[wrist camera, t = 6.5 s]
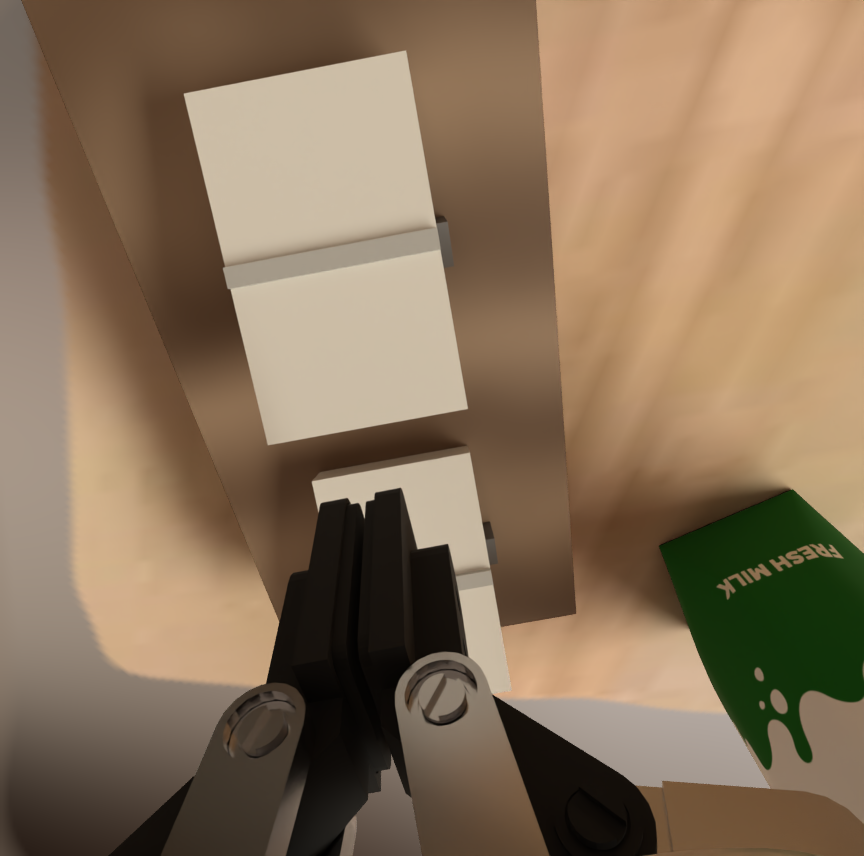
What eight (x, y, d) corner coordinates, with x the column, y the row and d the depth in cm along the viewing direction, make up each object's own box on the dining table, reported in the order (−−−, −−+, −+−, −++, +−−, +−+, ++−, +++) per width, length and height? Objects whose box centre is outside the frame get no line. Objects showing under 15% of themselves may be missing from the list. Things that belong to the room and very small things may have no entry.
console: (-67, -421, 14) (-357, -767, 8) (449, -530, 13) (489, -959, 8) (303, 580, 29) (284, 684, 23) (546, 537, 28) (583, 632, 23)
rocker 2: (319, 472, 20) (310, 482, 18) (466, 445, 20) (470, 454, 18) (367, 692, 21) (362, 720, 20) (506, 668, 21) (512, 694, 19)
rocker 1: (206, 115, 15) (180, 89, 13) (407, 76, 14) (405, 46, 13) (281, 434, 16) (265, 446, 14) (464, 401, 16) (468, 409, 14)
